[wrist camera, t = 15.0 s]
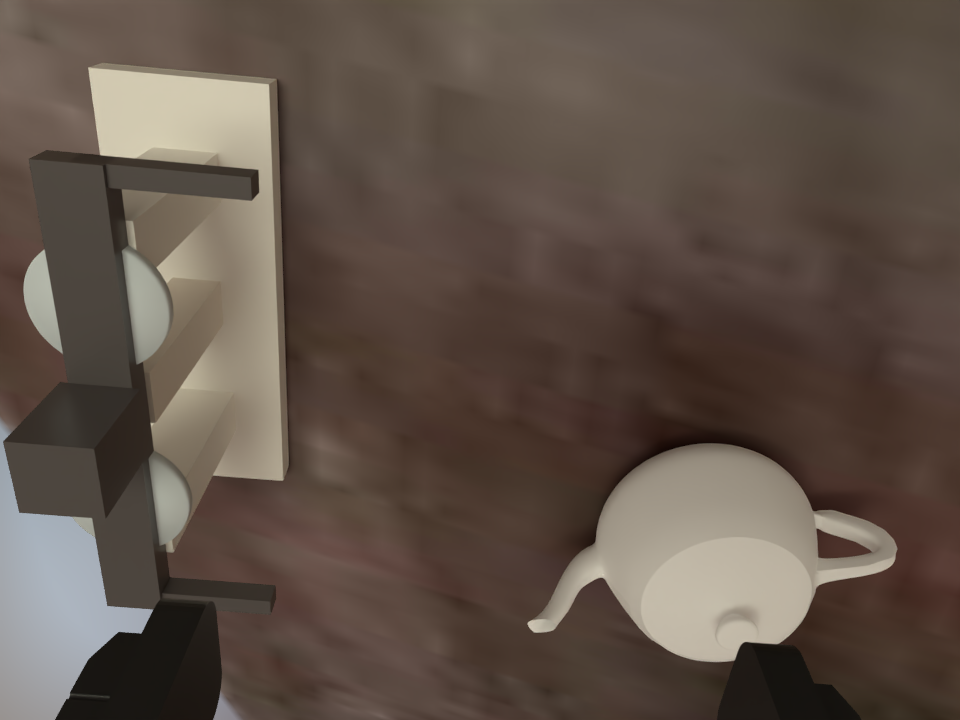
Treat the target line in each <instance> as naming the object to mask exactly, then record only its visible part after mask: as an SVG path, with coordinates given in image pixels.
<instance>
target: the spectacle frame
mask: <svg viewBox="0 0 960 720" xmlns="http://www.w3.org/2000/svg"><path fill="white" fill-rule="evenodd" d="M29 164H30V170H31V175H32V181H33V187H34V192H35V198H36V204H37V209H38V215H39V221H40V226H41V232H42V238H43V243H44V250H43V251H42V252H41V253H40V254H38V255H37V256H36V258H35V259H34V260H33V261H32V263H31V264H30V266H29V268H28V270H27V273H26V276H25V280H24V300H25V304H26V308H27V311H28V313H29V316H30V318H31V320H32V322H33V323H34V325H35V327H36V328H37V330H38V331H39V332H40V334H41V335H42V336H43V337H44V338H45V339H46V340H47V341H48V342H49V343H50V344H51V345H52V346H53V347H54V348H56V349H57V350H58V351H60V352H61V353H63V357H64V362H65V368H66V374H67V379H68V383H63V382H60V383H59V384H58V385H57V386H56V387H55V388H54V389H53V390H52V391H51V392H50V393H49V394H48V395H47V396H46V398H45V399H44V400H43V401H42V402H41V403H40V404H39V405H38V406H37V407H36V408H35V409H34V410H33V411H32V412H31V413H30V414H29V415H28V416H27V417H26V418H25V419H24V420H23V421H22V423H21V424H20V425H19V426H18V427H17V428H16V429H15V430H14V431H13V432H12V433H11V434H10V435H9V436H8V437H7V438H6V439H5V440H4V442H3V443H4V448H5V452H6V456H7V461H8V465H9V469H10V474H11V478H12V482H13V487H14V491H15V496H16V500H17V504H18V509H19V512H20V513H33V514H45V515H58V516H71V517H73V519H74V520H75V521H76V522H77V523H78V524H79V525H80V526H81V527H82V528H83V529H84V530H85V531H87V532H88V533H89V534H91V535H92V536H94V537H95V538H96V543H97V549H98V555H99V561H100V566H101V572H102V578H103V583H104V589H105V595H106V600H107V606H115V607H129V608H142V609H154V608H155V606H156V604H157V603H158V601H159V600H160V599H162V598H174V599H187V600H201V601H213V602H214V604H215V607H216V611H229V612H242V613H256V614H269V615H271V612H272V609H273V606H274V603H275V600H276V586H275V585H263V584H250V583H237V582H224V581H210V580H197V579H184V578H171V577H170V576H169V568H168V560H167V552H166V544H165V543H168V542H169V541H171V540H172V539H174V538H175V537H176V536H177V535H178V534H179V533H180V532H181V530H182V529H183V527H184V525H185V524H186V522H187V520H188V518H189V516H190V513H191V510H192V504H193V503H192V493H191V489H190V486H189V484H188V482H187V480H186V478H185V477H184V475H183V474H182V472H181V471H180V470H179V469H178V468H177V466H175V465H174V464H173V463H172V462H171V461H170V460H168V459H167V458H166V457H164V456H163V455H161V454H159V453H158V452H156V451H154V447H153V439H152V431H151V423H150V415H149V407H148V399H147V390H146V382H145V374H144V366H143V361H145V360H146V359H148V358H149V357H150V356H152V355H153V354H154V353H155V352H156V351H157V350H158V348H159V347H160V346H161V345H162V343H163V342H164V341H165V339H166V338H167V336H168V334H169V332H170V330H171V326H172V323H173V315H174V311H173V301H172V297H171V294H170V290H169V288H168V286H167V284H166V281H165V280H164V278H163V277H162V275H161V273H160V272H159V271H158V269H157V268H156V267H155V266H154V265H153V264H152V263H151V262H150V261H149V260H148V259H147V258H146V257H145V256H144V255H143V254H141V253H140V252H139V251H137V250H136V249H134V248H133V247H131V246H129V245H128V237H127V229H126V221H125V213H124V205H123V197H122V189H126V190H137V191H148V192H159V193H170V194H181V195H192V196H203V197H214V198H225V199H236V200H247V201H252V200H253V199H254V198H255V197H256V196H257V195H258V193H259V170H256V169H245V168H234V167H223V166H212V165H201V164H191V163H180V162H169V161H158V160H147V159H136V158H125V157H115V156H104V155H93V154H82V153H71V152H60V151H49V150H46V151H44V152H42V153H40V154H38V155H36V156H34V157H32V158H30V159H29Z"/></svg>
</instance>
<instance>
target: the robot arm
mask: <svg viewBox="0 0 960 720" xmlns="http://www.w3.org/2000/svg"><path fill="white" fill-rule="evenodd" d="M221 679H222V668H221V657H220V646H219V636H218V625H217V614H216V607H215V604H214V602H213V601H201V600H187V599H174V598H162V599H160V600H159V601H158V603H157V604H156V606H155V608H154V610H153V612H152V614H151V616H150V618H149V620H148V622H147V624H146V626H145V628H144V630H143V632H142V634H139V633H125V632H118V633H117V634H116V635H115V636H114V637H113V638H111V640H109V641H108V642H107V643H106V644H105V645H104V646H103V647H102V648H101V649H99V650H98V651H97V652H96V653H95V654H94V655H93V656H92V657H91V658H90V659H89V660H88V661H87V663H86V665H85V667H84V669H83V670H82V672H81V674H80V676H79V677H78V679H77V681H76V683H75V685H74V686H73V688H72V690H71V692H70V697H69V699H66V701H65V703H64V705H63V706H62V708H61V710H60V712H59V714H58V716H57V717H56V719H55V720H213V718H214V715H215V712H216V709H217V705H218V700H219V695H220V689H221ZM717 720H861V718H860V716H859V715H858V714H857V713H856V712H855V710H854V709H853V708H852V707H851V706H850V705H849V704H848V703H847V701H846V700H845V699H844V698H843V697H842V696H841V695H840V694H839V693H838V691H837V690H836V689H835V688H834V687H833V686H832V685H826V684H814V682H813V680H812V678H811V675H810V673H809V671H808V668H807V666H806V664H805V661H804V659H803V657H802V655H801V653H800V651H799V650H798V649H797V648H796V647H795V646H793V645H781V644H767V643H753V642H744V643H742V644H741V646H740V647H739V650H738V652H737V655H736V658H735V661H734V664H733V667H732V670H731V673H730V676H729V679H728V682H727V685H726V688H725V691H724V694H723V697H722V700H721V703H720V706H719V710H718V717H717Z"/></svg>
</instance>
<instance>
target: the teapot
mask: <svg viewBox="0 0 960 720" xmlns="http://www.w3.org/2000/svg"><path fill="white" fill-rule="evenodd" d="M816 528H817V529H820V530H821V531H823V532H826V533H829V534H832V535H835V536H839V537H842V538H845V539H848V540H852V541H855V542H857V543H859V544H861V545H862V546H864V547H866V548H868V549H870V550H871V551H872V552H873V553H869V554H865V555H860V556H853V557H845V558H832V559H823V558H818V545H817V532H816ZM896 551H897V547H896V544H895V541H894V539H893V538H892V537H891V536H890V535H889V534H888V533H887V532H886V531H885V530H884V529H882V528H880V527H878V526H876V525H875V524H873V523H871V522H869V521H867V520H864V519H860V518H857V517H854V516H851V515H847V514H844V513H841V512H838V511H834V510H818V511H812V508H811V505H810V503H809V501H808V499H807V497H806V495H805V493H804V491H803V490H802V488H801V487H800V485H799V484H798V483H797V481H796V480H795V479H794V478H793V477H792V476H791V475H790V474H789V473H788V472H787V471H786V470H785V469H784V468H782V467H781V466H780V465H779V464H777V463H776V462H774V461H773V460H771V459H769V458H768V457H766V456H764V455H762V454H760V453H757V452H755V451H752V450H749V449H746V448H743V447H739V446H734V445H728V444H717V443H704V444H693V445H687V446H682V447H678V448H675V449H671V450H668V451H665V452H663V453H660V454H658V455H656V456H654V457H652V458H650V459H648V460H646V461H645V462H643V463H642V464H640V465H639V466H637V467H636V468H634V469H633V470H632V471H631V472H629V473H628V474H627V475H626V476H625V477H624V478H623V479H622V480H621V481H620V482H619V483H618V485H617V486H616V487H615V488H614V490H613V491H612V492H611V494H610V496H609V497H608V499H607V501H606V503H605V505H604V507H603V509H602V512H601V515H600V518H599V521H598V526H597V532H596V541H595V543H594V544H593V545H591V546H589V547H587V548H585V549H584V550H582V551H581V552H580V553H578V554H577V555H576V556H575V557H574V559H573V560H572V561H571V562H570V564H569V565H568V566H567V568H566V569H565V571H564V573H563V575H562V577H561V579H560V581H559V583H558V585H557V587H556V589H555V591H554V593H553V596H552V598H551V600H550V601H549V603H548V605H547V606H546V608H545V609H544V610H543V611H542V612H541V613H540V614H539V615H538V616H537V617H536V618H534V619H533V620H531V621H529V622H528V626H529V628H530V629H531V630H532V631H533V632H537V633H538V632H549V631H552V630H554V629H555V628H556V626H557V625H558V624H559V622H560V621H561V620H562V619H563V617H564V616H565V615H566V613H567V612H568V610H569V609H570V607H571V605H572V603H573V601H574V599H575V597H576V596H577V594H578V592H579V591H580V589H581V588H582V587H584V586H585V585H587V584H588V583H590V582H591V581H593V580H595V579H597V578H604V579H605V580H606V582H607V584H608V585H609V587H610V589H611V590H612V592H613V593H614V595H615V596H616V598H617V599H618V601H619V602H620V603H621V605H622V606H623V608H624V609H625V610H626V612H627V613H628V614H629V616H630V617H631V618H632V619H633V621H634V622H635V623H636V624H637V626H638V627H639V628H640V629H641V630H642V631H643V632H644V633H645V634H646V635H647V636H648V637H649V638H650V639H652V640H653V641H655V642H656V643H658V644H659V645H661V646H662V647H664V648H665V649H667V650H668V651H670V652H672V653H674V654H676V655H679V656H682V657H685V658H688V659H692V660H697V661H705V662H726V661H734V660H735V658H736V655H737V652H738V650H739V647H740V646H741V644H742V643H744V642H753V643H767V644H779V643H780V642H782V641H783V640H784V639H786V638H787V637H788V636H789V635H790V634H792V633H793V632H794V631H795V629H796V628H797V627H798V626H799V625H800V623H801V622H802V621H803V619H804V617H805V616H806V614H807V612H808V609H809V607H810V604H811V602H812V599H813V597H814V594H815V591H816V587H817V586H819V585H821V584H823V583H826V582H830V581H835V580H841V579H847V578H854V577H860V576H865V575H870V574H874V573H877V572H881V571H883V570H885V569H887V568H889V567H890V566H891V565H892V564H893V563H894V561H895V556H896Z"/></svg>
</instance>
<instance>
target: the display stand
mask: <svg viewBox="0 0 960 720" xmlns="http://www.w3.org/2000/svg"><path fill="white" fill-rule="evenodd" d="M88 69H89V76H90V83H91V91H92V98H93V105H94V113H95V120H96V127H97V135H98V142H99V149H100V155H104V156H115V157H125V158H136V159H147V160H158V161H169V162H180V163H191V164H201V165H212V166H223V167H234V168H245V169H256V170H259V193H258V195H257V196H256V197H255V198H254V199H253V200H252V201H247V200H236V199H225V198H214V197H203V196H192V195H181V194H170V193H159V192H148V191H137V190H126V189H122V197H123V205H124V213H125V221H126V229H127V237H128V245H129V246H131V247H133V248H134V249H136V250H137V251H139V252H140V253H141V254H143V255H144V256H145V257H146V258H147V259H148V260H149V261H150V262H151V263H152V264H153V265H154V266H155V267H156V268H157V269H158V271H159V272H160V273H161V275H162V277H163V278H164V280H165V281H166V284H167V286H168V288H169V290H170V294H171V297H172V301H173V311H174V315H173V323H172V326H171V330H170V332H169V334H168V336H167V338H166V339H165V341H164V342H163V343H162V345H161V346H160V347H159V348H158V350H157V351H156V352H155V353H154V354H153V355H152V356H150V357H149V358H148V359H146V360H145V361H143V366H144V374H145V382H146V390H147V399H148V407H149V415H150V423H151V431H152V439H153V447H154V451H156V452H158V453H159V454H161V455H163V456H164V457H166V458H167V459H168V460H170V461H171V462H172V463H173V464H174V465H175V466H177V468H178V469H179V470H180V471H181V472H182V474H183V475H184V477H185V478H186V480H187V482H188V484H189V486H190V489H191V493H192V503H193V504H192V510H191V513H190V516H189V518H188V520H187V522H186V524H185V525H184V527H183V529H182V530H181V532H180V533H179V534H178V535H177V536H176V537H175V538H174V539H172V540H171V541H169V542H168V543H165V544H166V552H174V550H175V548H176V546H177V544H178V542H179V541H180V539H181V537H182V535H183V533H184V531H185V529H186V527H187V525H188V523H189V521H190V519H191V517H192V515H193V513H194V511H195V509H196V507H197V505H198V503H199V502H200V500H201V498H202V496H203V494H204V492H205V490H206V488H207V486H208V484H209V482H210V480H211V478H212V476H213V475H214V476H227V477H240V478H252V479H265V480H278V481H283V480H284V477H285V475H286V472H287V469H288V467H289V452H288V420H287V387H286V355H285V323H284V291H283V258H282V226H281V194H280V162H279V130H278V97H277V79H272V78H261V77H250V76H239V75H229V74H218V73H207V72H196V71H185V70H175V69H164V68H153V67H142V66H132V65H121V64H110V63H101V64H98V65H95V66H92V67H89V68H88Z"/></svg>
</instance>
